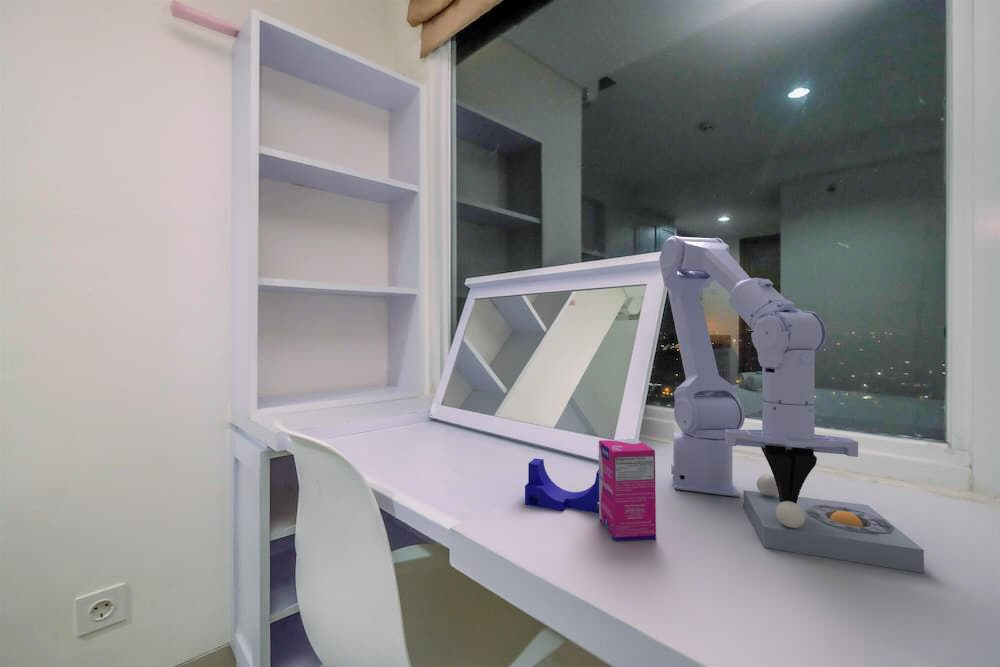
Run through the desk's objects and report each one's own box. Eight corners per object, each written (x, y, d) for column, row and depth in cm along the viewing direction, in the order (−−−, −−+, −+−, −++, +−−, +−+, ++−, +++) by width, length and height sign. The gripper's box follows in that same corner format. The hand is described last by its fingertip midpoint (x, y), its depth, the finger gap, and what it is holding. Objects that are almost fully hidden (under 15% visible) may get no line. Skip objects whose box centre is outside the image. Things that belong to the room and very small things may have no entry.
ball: (868, 521, 50) (864, 549, 51) (863, 512, 53) (858, 538, 54) (833, 511, 52) (829, 538, 52) (829, 503, 55) (825, 528, 55)
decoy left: (759, 498, 60) (759, 477, 60) (754, 490, 62) (754, 470, 62) (783, 501, 59) (783, 479, 59) (777, 493, 61) (777, 473, 61)
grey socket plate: (764, 547, 51) (764, 526, 51) (743, 506, 63) (743, 490, 63) (924, 572, 45) (923, 549, 45) (867, 523, 57) (867, 504, 57)
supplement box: (597, 521, 57) (597, 438, 58) (638, 520, 58) (639, 438, 58) (612, 542, 52) (612, 450, 52) (658, 540, 52) (658, 449, 52)
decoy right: (779, 530, 50) (779, 504, 50) (772, 519, 53) (772, 496, 53) (809, 534, 49) (809, 508, 49) (801, 523, 51) (801, 499, 52)
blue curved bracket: (524, 505, 63) (525, 466, 63) (534, 495, 67) (534, 458, 67) (605, 520, 58) (605, 477, 58) (610, 507, 62) (610, 468, 63)
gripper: (731, 402, 54) (730, 507, 54) (870, 410, 49) (870, 525, 49) (722, 395, 61) (722, 488, 61) (844, 401, 56) (844, 503, 56)
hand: (787, 504), depth 55 cm, fingers closed
